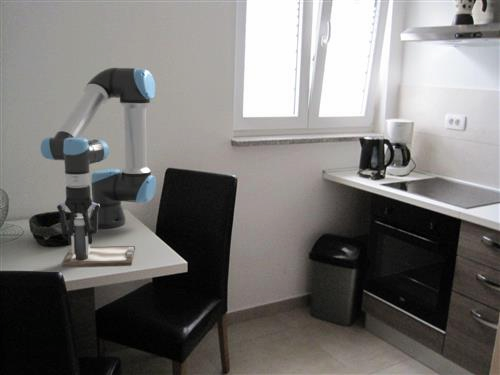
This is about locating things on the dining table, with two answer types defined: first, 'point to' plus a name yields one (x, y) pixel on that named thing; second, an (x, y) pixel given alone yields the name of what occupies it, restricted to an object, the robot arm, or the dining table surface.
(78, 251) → the marker
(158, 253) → the dining table surface
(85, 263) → the clipboard
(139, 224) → the dining table surface
